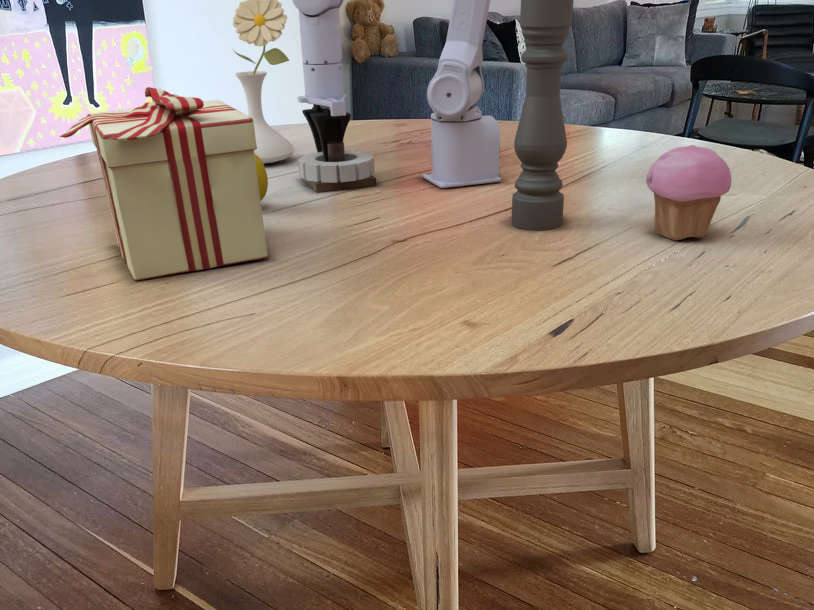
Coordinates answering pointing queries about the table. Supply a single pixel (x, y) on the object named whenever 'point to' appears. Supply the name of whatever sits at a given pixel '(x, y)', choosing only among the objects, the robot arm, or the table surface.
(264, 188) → the lemon
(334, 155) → the brown peg stand
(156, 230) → the gift box
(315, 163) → the grey notched ring
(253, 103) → the flower in vase
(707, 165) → the cupcake
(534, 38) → the candle holder
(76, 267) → the table surface
